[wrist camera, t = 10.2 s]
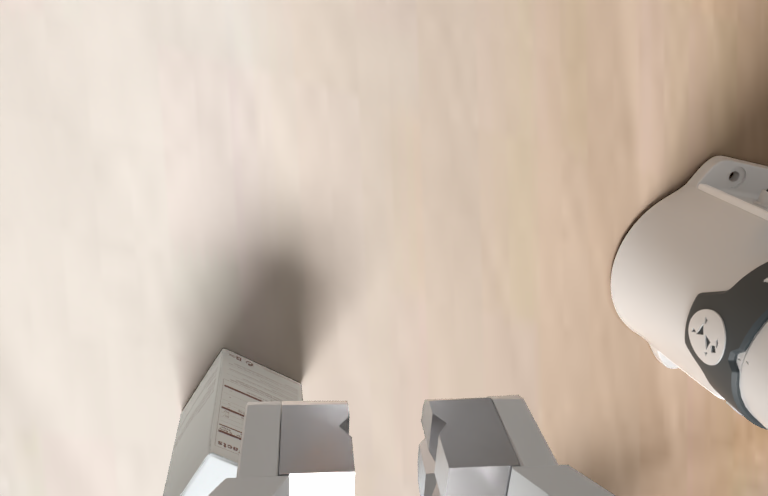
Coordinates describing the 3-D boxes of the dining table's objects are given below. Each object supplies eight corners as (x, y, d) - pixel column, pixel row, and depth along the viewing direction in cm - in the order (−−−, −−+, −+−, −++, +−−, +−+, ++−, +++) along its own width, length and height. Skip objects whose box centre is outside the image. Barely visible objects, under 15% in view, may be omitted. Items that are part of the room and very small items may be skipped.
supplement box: (259, 447, 54) (253, 573, 43) (178, 412, 52) (148, 537, 40) (305, 382, 52) (312, 496, 41) (224, 343, 50) (206, 453, 38)
